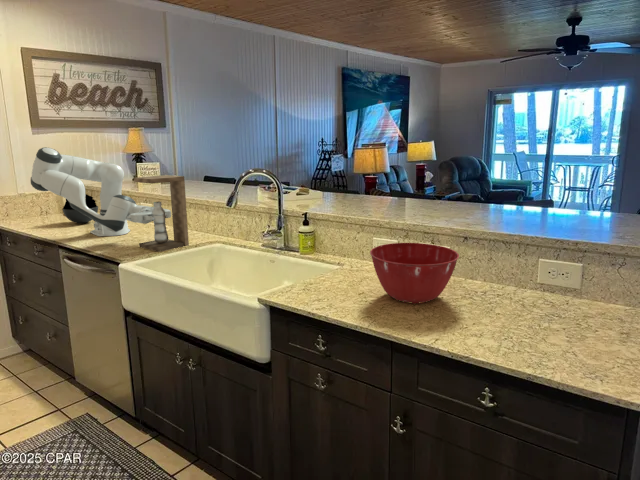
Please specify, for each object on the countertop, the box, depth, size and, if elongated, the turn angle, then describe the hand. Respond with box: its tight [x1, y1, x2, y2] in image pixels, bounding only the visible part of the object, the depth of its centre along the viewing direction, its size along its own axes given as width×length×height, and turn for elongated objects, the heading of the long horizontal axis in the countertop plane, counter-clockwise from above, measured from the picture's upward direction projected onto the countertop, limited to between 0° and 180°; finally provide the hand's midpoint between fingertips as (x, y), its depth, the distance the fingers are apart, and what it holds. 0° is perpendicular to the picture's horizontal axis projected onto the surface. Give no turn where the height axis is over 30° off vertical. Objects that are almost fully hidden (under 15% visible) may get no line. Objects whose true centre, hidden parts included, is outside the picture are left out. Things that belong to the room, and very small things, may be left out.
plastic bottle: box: [152, 201, 169, 243], centre depth 235 cm, size 6×7×20 cm
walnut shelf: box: [133, 174, 190, 253], centre depth 235 cm, size 16×18×34 cm
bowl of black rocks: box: [62, 193, 99, 224], centre depth 303 cm, size 20×20×19 cm
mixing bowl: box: [369, 242, 460, 304], centre depth 161 cm, size 28×28×16 cm
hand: (160, 217), depth 234 cm, fingers closed on plastic bottle, 6 cm apart
